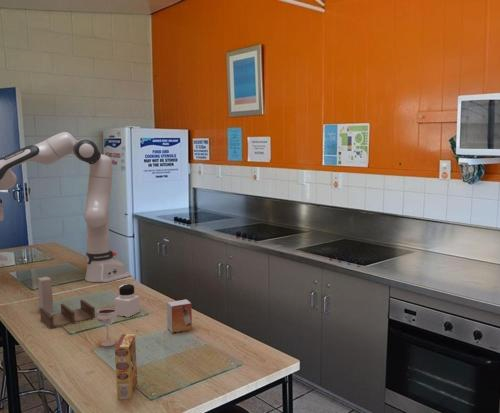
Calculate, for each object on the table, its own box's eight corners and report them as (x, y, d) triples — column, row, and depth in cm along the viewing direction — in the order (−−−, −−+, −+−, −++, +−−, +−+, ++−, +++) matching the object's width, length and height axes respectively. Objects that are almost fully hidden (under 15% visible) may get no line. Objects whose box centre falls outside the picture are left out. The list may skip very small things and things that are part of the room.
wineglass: (107, 348, 163) (105, 315, 161) (93, 344, 166) (92, 311, 165) (122, 341, 168) (120, 309, 167) (108, 337, 172) (107, 305, 170)
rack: (83, 309, 201) (82, 299, 200) (95, 318, 191) (94, 307, 190) (40, 319, 190) (40, 308, 189) (50, 328, 180) (50, 317, 179)
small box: (171, 333, 175) (171, 306, 174) (167, 328, 180) (166, 301, 179) (192, 330, 179) (191, 303, 178) (187, 325, 184) (186, 298, 183)
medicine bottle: (139, 312, 198) (139, 284, 196) (128, 317, 192) (127, 288, 190) (126, 309, 201) (125, 282, 199) (114, 315, 195) (113, 286, 193)
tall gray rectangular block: (49, 308, 202) (47, 276, 200) (53, 311, 198) (51, 279, 196) (39, 310, 200) (37, 278, 198) (43, 313, 196) (41, 280, 194)
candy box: (132, 399, 131) (130, 346, 128) (116, 400, 130) (114, 346, 128) (137, 383, 139) (136, 333, 137) (123, 384, 139) (121, 333, 137)
